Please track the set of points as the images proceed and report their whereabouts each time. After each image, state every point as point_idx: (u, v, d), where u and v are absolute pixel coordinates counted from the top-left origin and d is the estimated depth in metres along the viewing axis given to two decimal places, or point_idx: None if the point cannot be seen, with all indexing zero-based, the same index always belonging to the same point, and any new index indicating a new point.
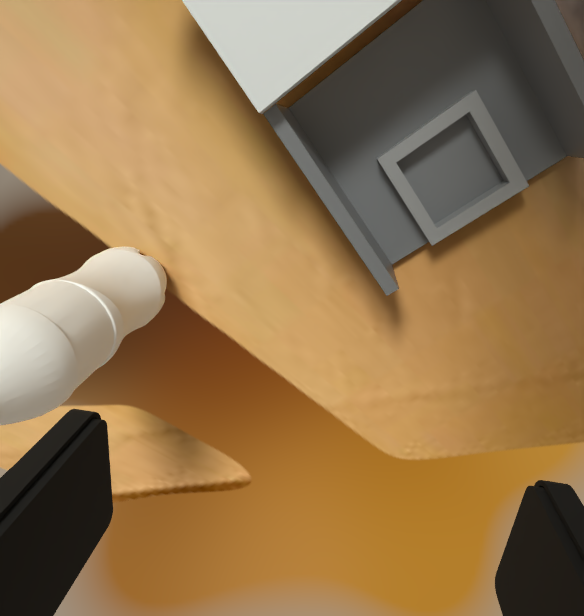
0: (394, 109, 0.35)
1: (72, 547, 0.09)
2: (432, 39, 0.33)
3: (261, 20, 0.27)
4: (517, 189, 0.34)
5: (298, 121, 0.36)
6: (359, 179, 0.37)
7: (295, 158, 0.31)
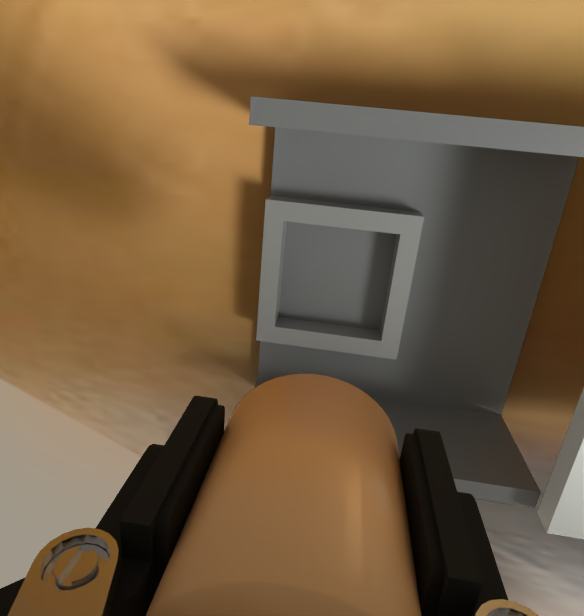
0: (450, 270, 0.25)
1: None
2: (474, 350, 0.27)
3: None
4: (261, 328, 0.26)
5: (553, 154, 0.23)
6: (415, 172, 0.24)
7: (567, 128, 0.17)
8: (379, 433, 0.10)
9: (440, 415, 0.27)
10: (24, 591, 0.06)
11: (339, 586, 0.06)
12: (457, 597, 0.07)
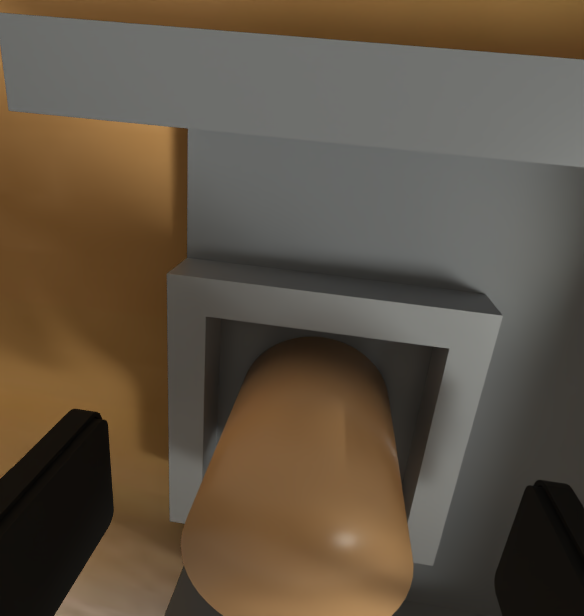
0: (540, 402, 0.13)
1: (73, 546, 0.09)
2: None
3: None
4: (177, 502, 0.14)
5: None
6: (480, 216, 0.11)
7: None
8: (372, 382, 0.12)
9: None
10: None
11: (341, 472, 0.08)
12: None
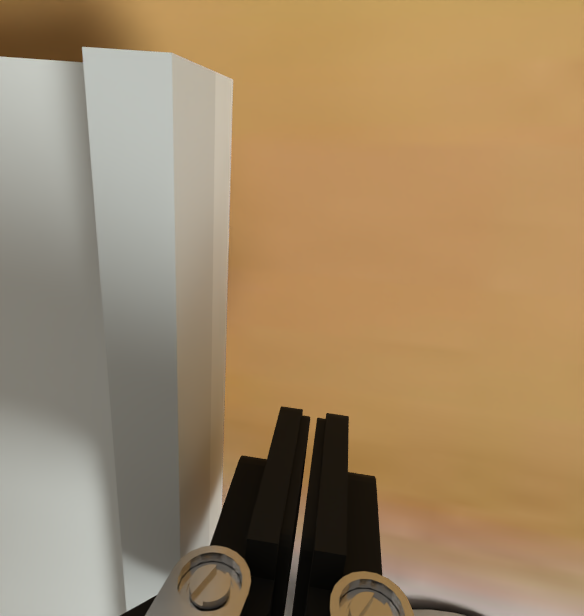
0: None
1: None
2: None
3: None
4: None
5: None
6: None
7: None
8: None
9: None
10: (161, 597, 0.06)
11: None
12: (324, 569, 0.07)
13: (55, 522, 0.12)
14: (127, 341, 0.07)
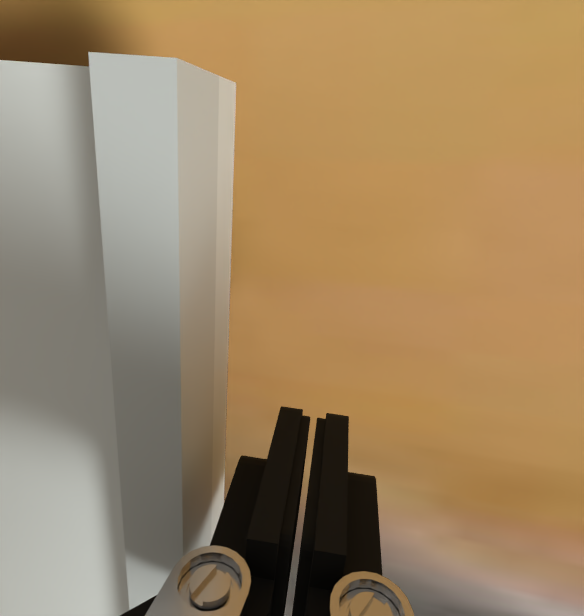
0: None
1: None
2: None
3: None
4: None
5: None
6: None
7: None
8: None
9: None
10: (161, 597, 0.06)
11: None
12: (324, 569, 0.07)
13: (59, 522, 0.12)
14: (131, 341, 0.08)
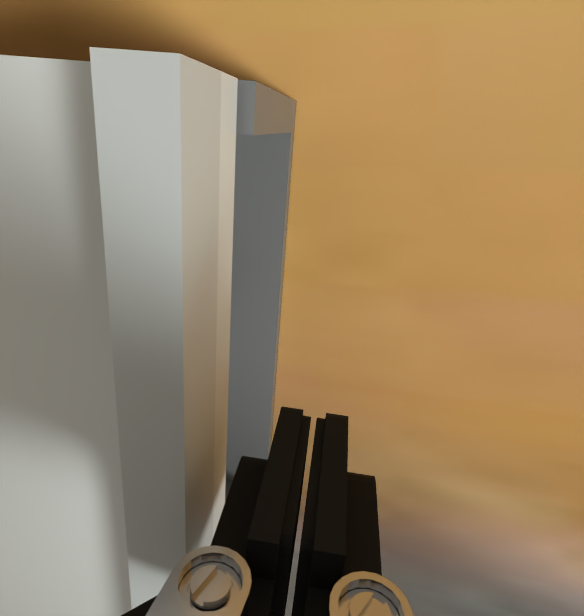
0: None
1: (295, 534, 0.10)
2: None
3: None
4: None
5: None
6: None
7: None
8: None
9: None
10: (161, 597, 0.06)
11: None
12: (323, 569, 0.07)
13: (59, 520, 0.12)
14: (133, 341, 0.07)
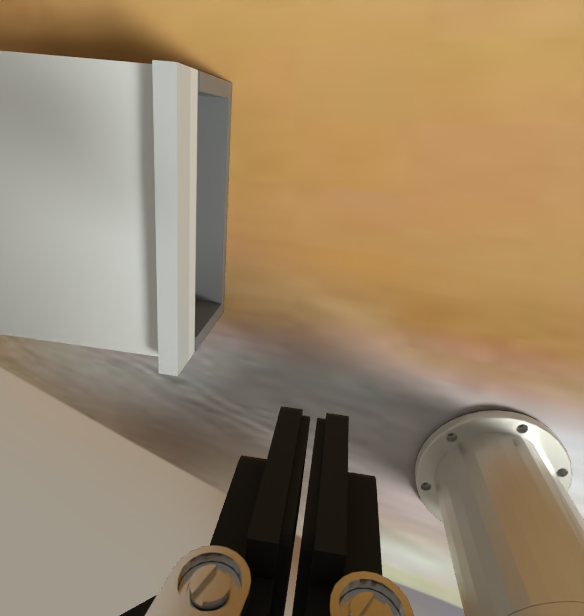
0: None
1: None
2: None
3: None
4: None
5: (210, 98, 0.31)
6: None
7: None
8: None
9: None
10: (161, 597, 0.07)
11: None
12: (324, 569, 0.07)
13: (123, 260, 0.28)
14: (161, 152, 0.23)
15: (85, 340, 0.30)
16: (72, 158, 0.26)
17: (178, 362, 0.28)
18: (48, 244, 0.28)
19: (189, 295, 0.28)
